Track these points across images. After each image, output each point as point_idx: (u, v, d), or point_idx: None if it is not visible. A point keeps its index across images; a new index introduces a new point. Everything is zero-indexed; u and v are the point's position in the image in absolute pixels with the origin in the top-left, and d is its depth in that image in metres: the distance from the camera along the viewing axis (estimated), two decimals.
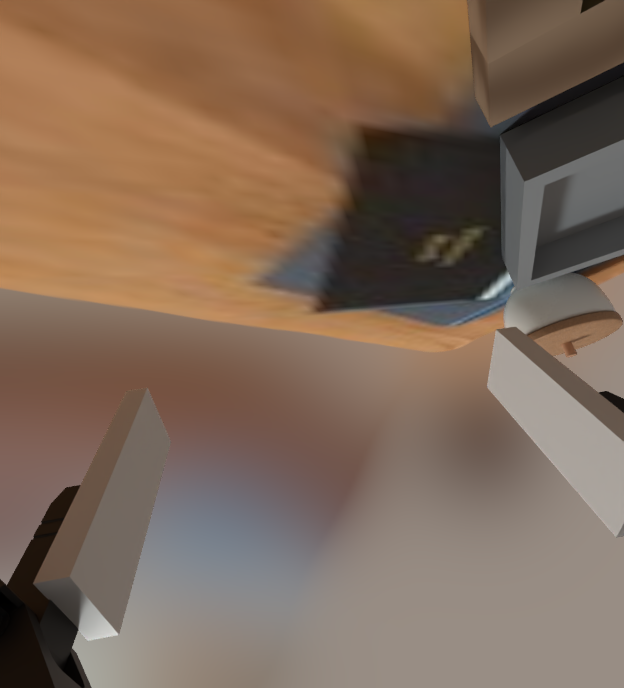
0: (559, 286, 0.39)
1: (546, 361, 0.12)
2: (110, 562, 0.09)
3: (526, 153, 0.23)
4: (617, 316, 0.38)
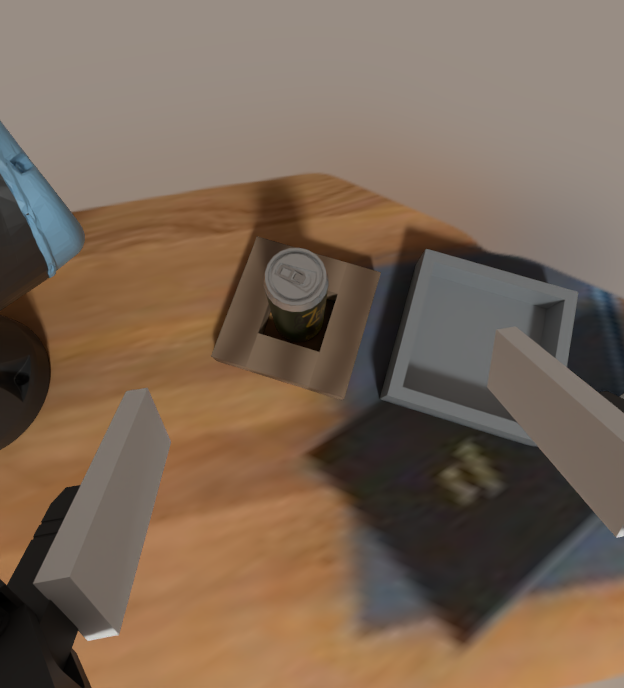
0: None
1: (546, 361, 0.12)
2: (110, 562, 0.09)
3: (385, 389, 0.38)
4: None
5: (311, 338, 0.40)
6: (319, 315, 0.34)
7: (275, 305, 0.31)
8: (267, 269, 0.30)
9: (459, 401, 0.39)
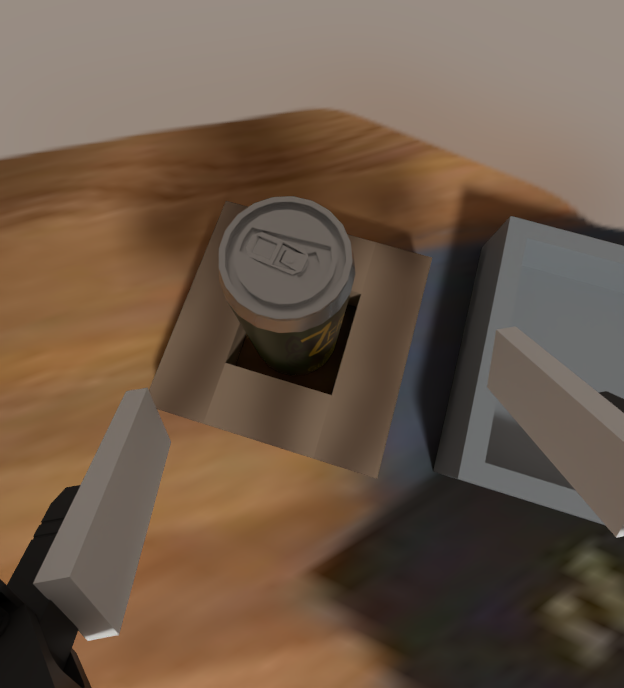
0: None
1: (546, 361, 0.12)
2: (110, 562, 0.09)
3: (448, 461, 0.22)
4: None
5: None
6: (333, 335, 0.18)
7: (243, 319, 0.14)
8: (224, 242, 0.14)
9: None
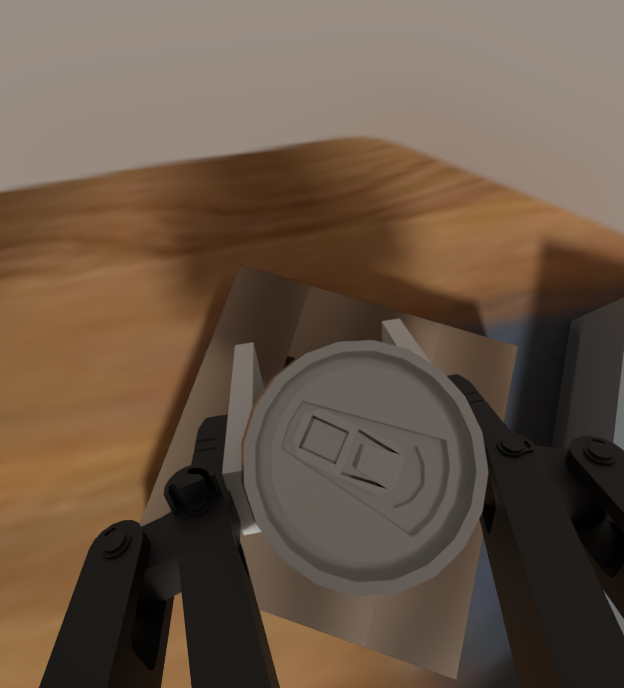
0: None
1: (410, 348, 0.14)
2: None
3: None
4: None
5: None
6: None
7: None
8: (253, 430, 0.08)
9: None
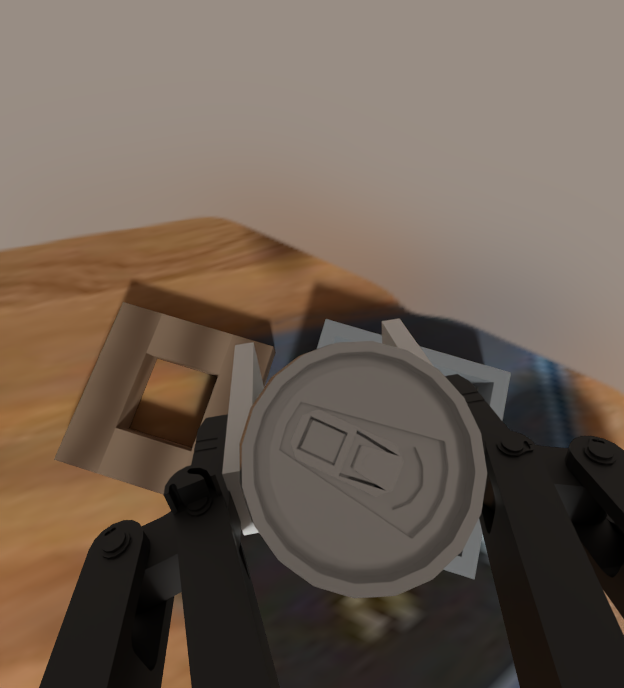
0: None
1: (410, 348, 0.14)
2: None
3: None
4: None
5: None
6: None
7: None
8: (251, 431, 0.08)
9: None
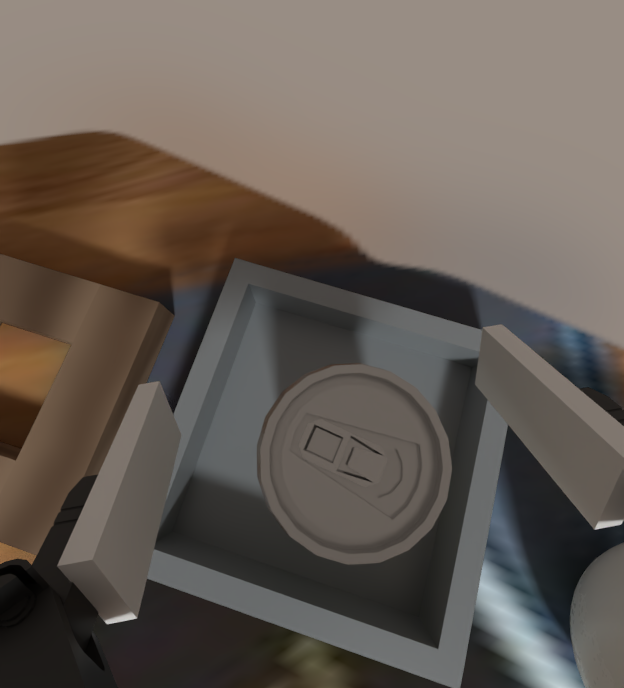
0: (580, 603, 0.18)
1: (530, 358, 0.12)
2: (128, 548, 0.10)
3: None
4: None
5: None
6: None
7: None
8: (268, 436, 0.10)
9: (293, 554, 0.20)
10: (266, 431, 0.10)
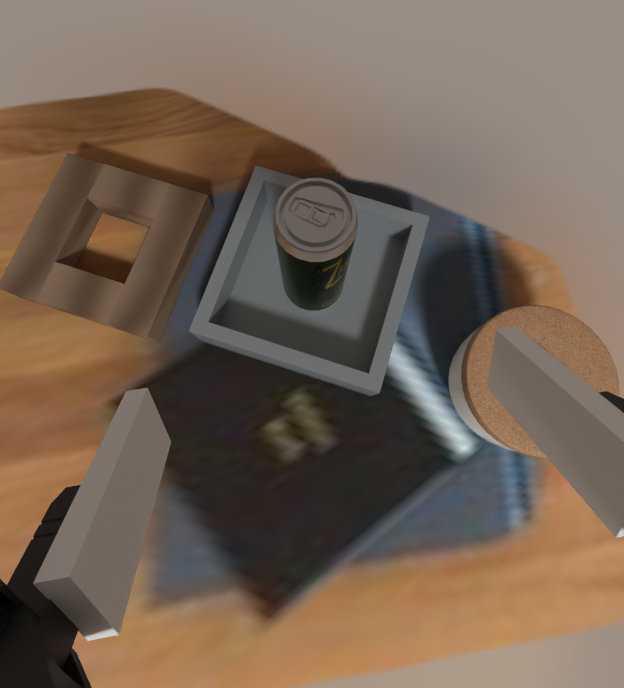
0: None
1: (546, 361, 0.12)
2: (110, 562, 0.09)
3: None
4: (511, 308, 0.28)
5: (328, 306, 0.33)
6: (342, 272, 0.27)
7: (288, 253, 0.23)
8: (278, 205, 0.23)
9: (290, 344, 0.33)
10: (278, 203, 0.23)
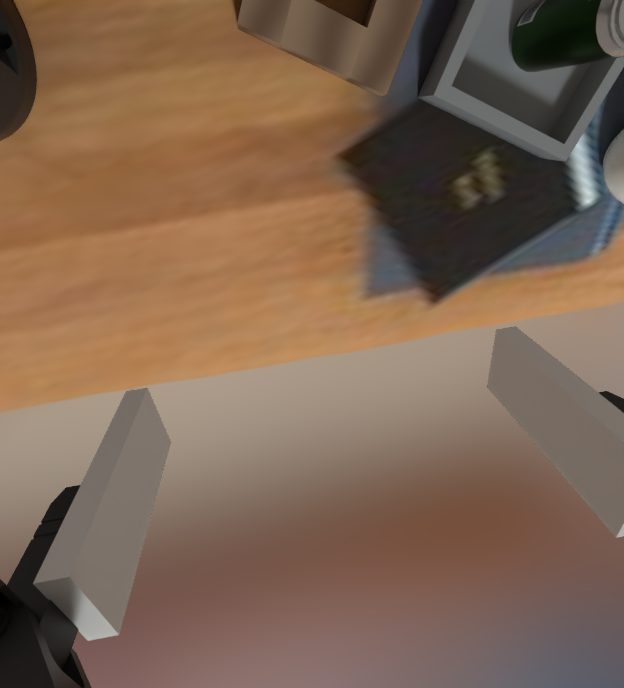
0: None
1: (546, 361, 0.12)
2: (110, 562, 0.09)
3: (429, 87, 0.35)
4: None
5: None
6: None
7: (597, 44, 0.27)
8: None
9: (497, 106, 0.38)
10: None
